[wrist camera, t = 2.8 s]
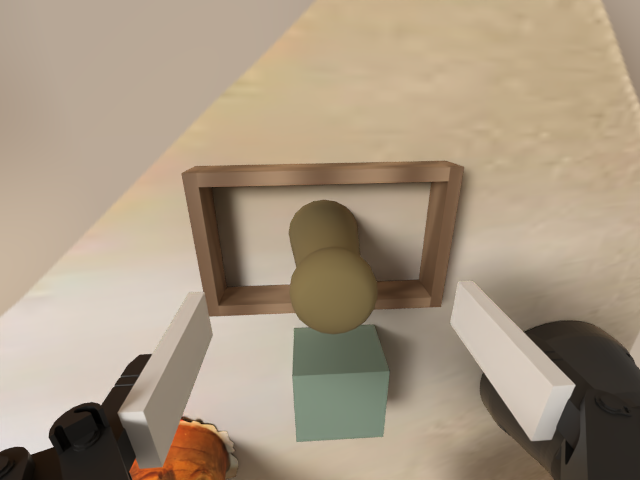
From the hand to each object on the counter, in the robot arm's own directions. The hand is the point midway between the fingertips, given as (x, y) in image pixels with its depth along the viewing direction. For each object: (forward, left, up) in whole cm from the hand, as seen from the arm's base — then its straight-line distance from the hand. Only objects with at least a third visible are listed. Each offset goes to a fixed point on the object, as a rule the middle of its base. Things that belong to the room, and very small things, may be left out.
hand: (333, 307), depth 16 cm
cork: (0, 0, -12) cm, 12 cm away
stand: (-1, +14, -12) cm, 18 cm away
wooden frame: (0, 0, -12) cm, 12 cm away
